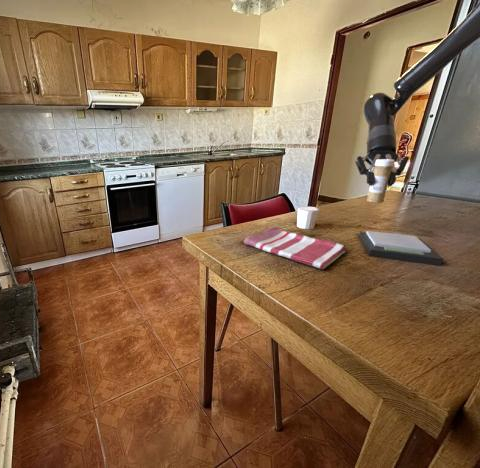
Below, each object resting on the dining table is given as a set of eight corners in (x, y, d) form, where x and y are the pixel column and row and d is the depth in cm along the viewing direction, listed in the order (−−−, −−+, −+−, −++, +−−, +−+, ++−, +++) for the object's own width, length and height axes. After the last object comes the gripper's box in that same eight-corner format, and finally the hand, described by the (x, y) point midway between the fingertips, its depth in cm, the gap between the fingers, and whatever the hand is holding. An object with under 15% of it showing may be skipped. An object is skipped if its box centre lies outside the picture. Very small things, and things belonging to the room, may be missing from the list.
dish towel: (270, 232, 91) (271, 224, 90) (345, 252, 74) (348, 243, 73) (242, 245, 81) (243, 237, 80) (322, 272, 64) (324, 262, 63)
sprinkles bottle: (386, 202, 83) (398, 159, 79) (378, 204, 82) (389, 160, 77) (371, 199, 87) (381, 158, 82) (362, 201, 86) (372, 159, 81)
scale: (418, 244, 78) (421, 235, 77) (440, 265, 65) (444, 256, 64) (358, 237, 84) (360, 229, 83) (368, 256, 72) (371, 246, 71)
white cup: (320, 228, 93) (324, 209, 90) (304, 230, 91) (308, 211, 89) (305, 222, 99) (308, 205, 97) (291, 224, 97) (293, 207, 95)
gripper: (358, 134, 86) (357, 176, 81) (413, 133, 80) (416, 178, 75) (352, 150, 93) (350, 190, 87) (403, 149, 87) (404, 192, 81)
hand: (381, 184), depth 81 cm, fingers closed on sprinkles bottle, 4 cm apart
